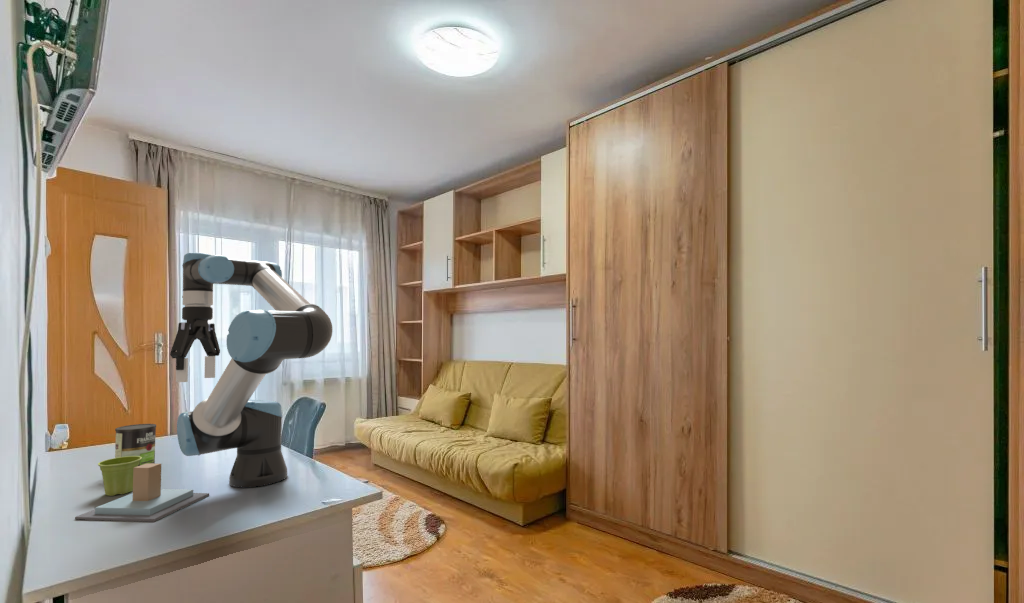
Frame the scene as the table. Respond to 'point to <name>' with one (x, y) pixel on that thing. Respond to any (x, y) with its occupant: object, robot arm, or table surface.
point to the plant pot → (118, 474)
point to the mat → (149, 518)
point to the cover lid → (145, 494)
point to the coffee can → (136, 442)
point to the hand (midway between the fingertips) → (196, 380)
